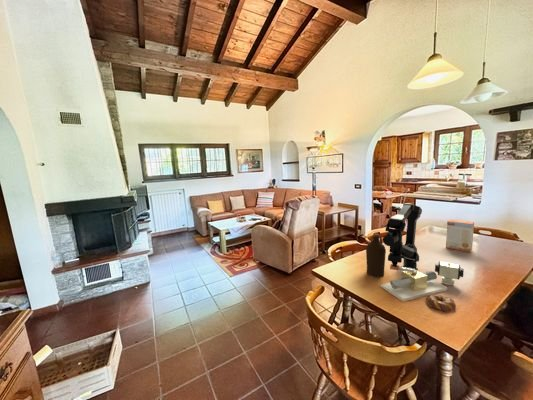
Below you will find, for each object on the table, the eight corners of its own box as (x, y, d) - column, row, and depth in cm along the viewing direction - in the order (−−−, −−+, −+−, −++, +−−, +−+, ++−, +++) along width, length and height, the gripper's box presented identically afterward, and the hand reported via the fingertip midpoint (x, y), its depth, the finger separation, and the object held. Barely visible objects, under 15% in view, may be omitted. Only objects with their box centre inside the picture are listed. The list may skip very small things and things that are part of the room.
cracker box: (472, 250, 161) (474, 222, 158) (470, 252, 158) (472, 223, 154) (447, 245, 172) (449, 219, 169) (445, 247, 169) (447, 220, 165)
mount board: (381, 287, 123) (381, 284, 123) (421, 277, 130) (422, 275, 130) (403, 301, 109) (403, 298, 109) (446, 290, 116) (447, 287, 116)
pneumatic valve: (434, 278, 128) (435, 258, 126) (461, 284, 120) (463, 263, 118) (433, 283, 123) (435, 262, 122) (462, 289, 116) (464, 267, 114)
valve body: (387, 286, 120) (387, 274, 119) (425, 277, 127) (426, 266, 125) (399, 295, 112) (400, 281, 111) (439, 284, 119) (440, 272, 118)
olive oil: (374, 279, 131) (374, 238, 127) (362, 271, 141) (362, 232, 137) (389, 276, 133) (390, 235, 130) (376, 268, 144) (377, 230, 140)
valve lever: (390, 269, 123) (390, 265, 123) (390, 267, 126) (390, 264, 125) (416, 274, 117) (417, 270, 116) (416, 272, 119) (417, 268, 118)
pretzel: (441, 297, 112) (441, 290, 111) (463, 310, 101) (464, 303, 101) (419, 300, 110) (420, 293, 109) (440, 314, 99) (440, 306, 99)
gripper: (413, 249, 111) (412, 278, 113) (413, 237, 126) (412, 263, 129) (388, 245, 117) (387, 273, 119) (390, 234, 132) (390, 259, 135)
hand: (395, 267), depth 125 cm, fingers closed
